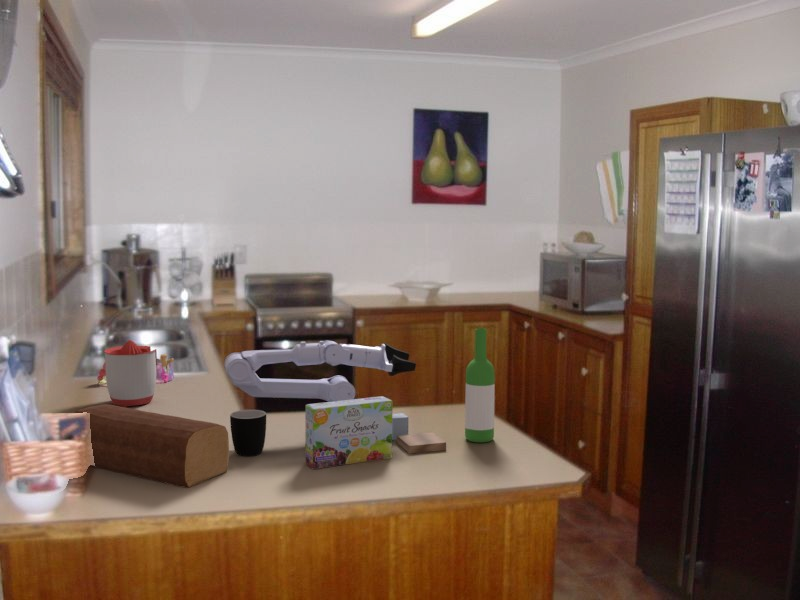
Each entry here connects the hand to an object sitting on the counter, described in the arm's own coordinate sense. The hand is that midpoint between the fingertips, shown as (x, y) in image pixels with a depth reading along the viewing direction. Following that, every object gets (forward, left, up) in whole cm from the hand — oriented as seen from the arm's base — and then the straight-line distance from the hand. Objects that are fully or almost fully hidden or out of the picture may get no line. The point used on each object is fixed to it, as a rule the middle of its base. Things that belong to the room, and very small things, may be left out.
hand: (411, 361), depth 238 cm
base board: (-3, -16, -19) cm, 25 cm away
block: (-6, -6, -19) cm, 21 cm away
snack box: (-24, -22, -20) cm, 38 cm away
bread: (-71, -11, -20) cm, 74 cm away
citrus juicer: (-72, +58, -19) cm, 94 cm away
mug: (-47, -6, -19) cm, 51 cm away
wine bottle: (+14, -15, -19) cm, 28 cm away
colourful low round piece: (-70, +91, -20) cm, 116 cm away
